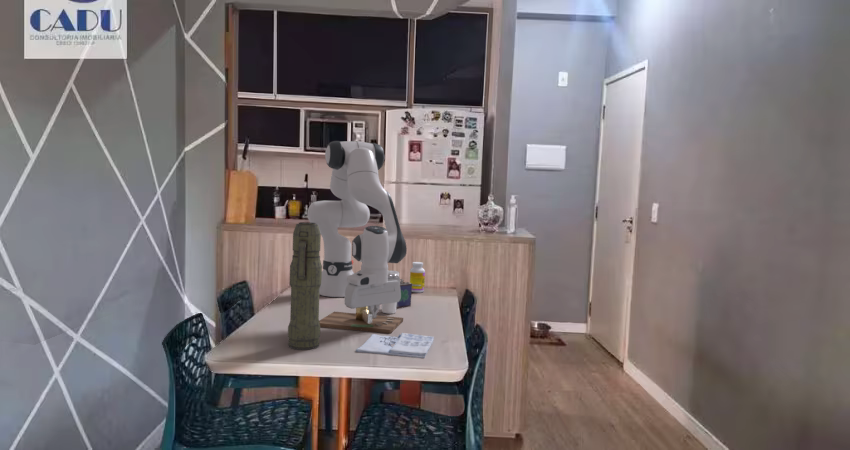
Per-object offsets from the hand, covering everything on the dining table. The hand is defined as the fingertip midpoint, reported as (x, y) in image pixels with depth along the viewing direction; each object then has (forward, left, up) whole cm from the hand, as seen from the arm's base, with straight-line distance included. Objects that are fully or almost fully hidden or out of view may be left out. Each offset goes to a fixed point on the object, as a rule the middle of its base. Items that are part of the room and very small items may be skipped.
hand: (372, 318), depth 183 cm
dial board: (-3, -5, -3) cm, 6 cm away
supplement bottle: (-66, +1, -3) cm, 67 cm away
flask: (-33, +2, -3) cm, 34 cm away
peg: (-1, -3, -2) cm, 4 cm away
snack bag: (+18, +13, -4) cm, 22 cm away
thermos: (+27, -12, -3) cm, 30 cm away
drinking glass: (-22, 0, -3) cm, 23 cm away
